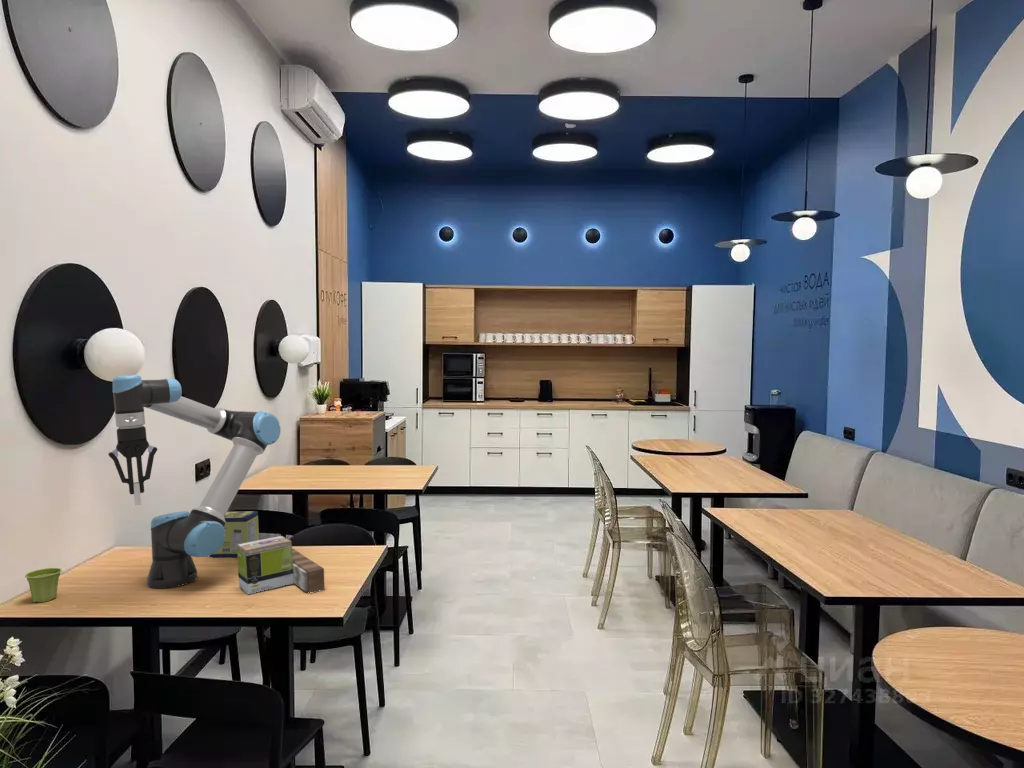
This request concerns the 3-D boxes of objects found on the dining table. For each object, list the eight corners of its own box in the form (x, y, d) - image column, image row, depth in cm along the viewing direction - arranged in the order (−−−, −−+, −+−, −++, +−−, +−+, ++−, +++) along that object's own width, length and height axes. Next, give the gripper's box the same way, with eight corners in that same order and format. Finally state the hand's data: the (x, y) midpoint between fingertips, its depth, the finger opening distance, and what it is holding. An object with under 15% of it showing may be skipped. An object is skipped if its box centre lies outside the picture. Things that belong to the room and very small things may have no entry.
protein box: (221, 550, 253) (220, 511, 253) (260, 549, 253) (258, 510, 252) (208, 558, 243) (206, 517, 242) (248, 557, 242) (247, 517, 242)
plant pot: (60, 591, 208) (59, 565, 208) (65, 599, 201) (64, 572, 201) (24, 599, 202) (23, 572, 202) (28, 607, 195) (27, 579, 195)
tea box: (283, 577, 219) (282, 534, 218) (294, 584, 211) (292, 540, 210) (237, 587, 209) (236, 542, 209) (247, 595, 202) (245, 549, 201)
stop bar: (276, 571, 225) (275, 551, 225) (292, 567, 229) (292, 548, 229) (306, 594, 202) (306, 572, 201) (324, 589, 205) (323, 568, 205)
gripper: (105, 430, 184) (113, 510, 186) (157, 425, 192) (163, 502, 193) (104, 428, 190) (112, 505, 192) (154, 423, 198) (160, 498, 199)
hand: (138, 504), depth 192 cm, fingers closed
